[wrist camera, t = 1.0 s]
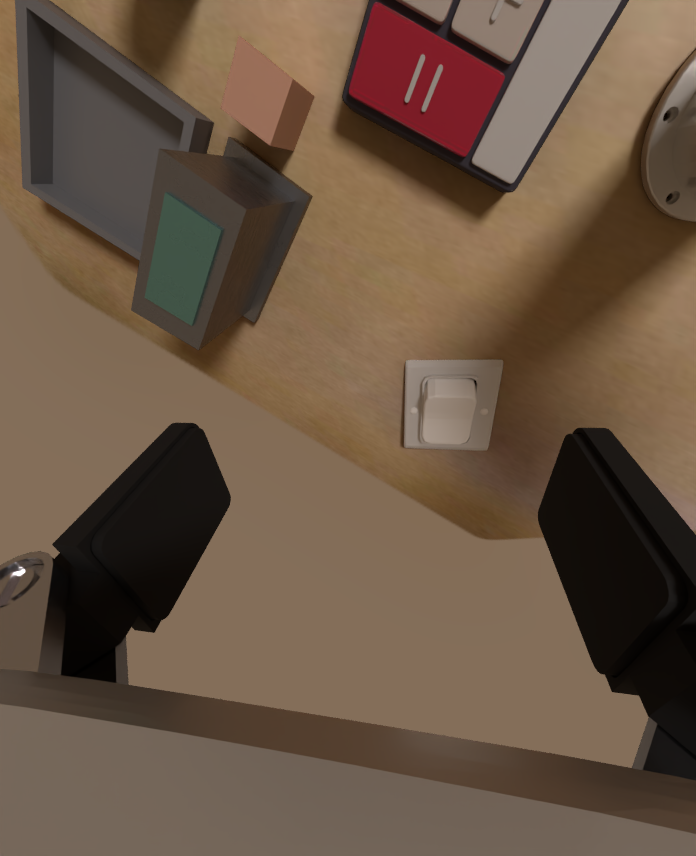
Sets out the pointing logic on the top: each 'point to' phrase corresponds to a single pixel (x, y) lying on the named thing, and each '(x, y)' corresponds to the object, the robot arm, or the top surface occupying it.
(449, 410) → the light switch
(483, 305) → the top surface
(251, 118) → the terracotta block
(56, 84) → the parts tray
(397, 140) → the top surface
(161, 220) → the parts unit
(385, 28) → the calculator
